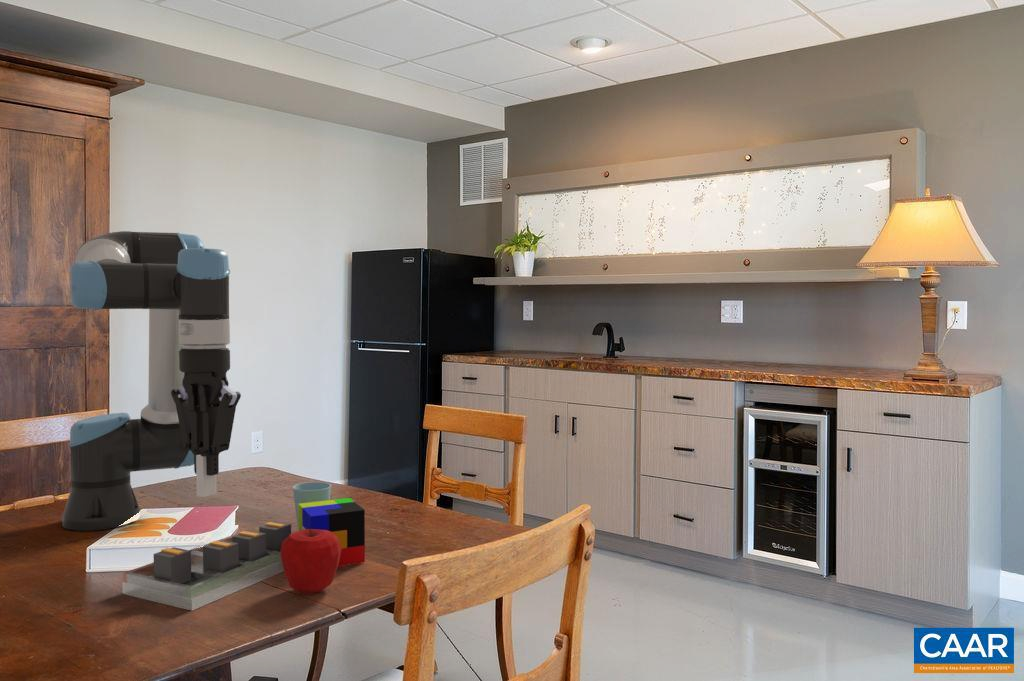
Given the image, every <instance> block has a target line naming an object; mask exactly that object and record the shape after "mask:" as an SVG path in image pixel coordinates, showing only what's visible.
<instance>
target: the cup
mask: <svg viewBox="0 0 1024 681" xmlns="http://www.w3.org/2000/svg"><path fill="white" fill-rule="evenodd" d="M331 490H332V484H331V483H328V482H322V481H310V482H309V481H307V482H301V483H297V484H295V485H293V487H292V491H293V498H294V506H295V507H294V508H295V515H296V516H295V517H296V523H297V526H298V504H300V503H309V502H318V501H327V500H331ZM297 531H299V528H298V527H297Z"/></svg>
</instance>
